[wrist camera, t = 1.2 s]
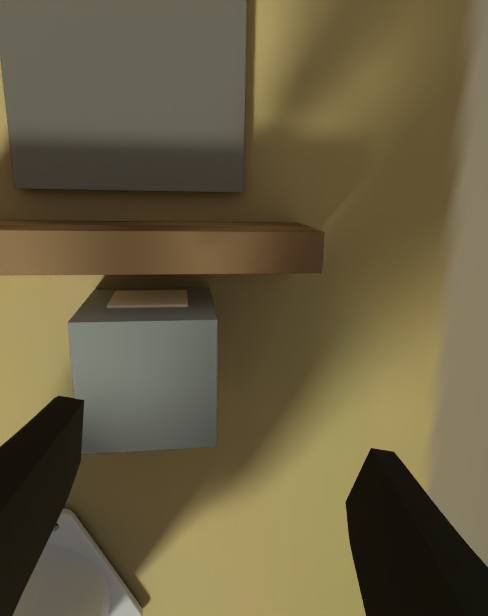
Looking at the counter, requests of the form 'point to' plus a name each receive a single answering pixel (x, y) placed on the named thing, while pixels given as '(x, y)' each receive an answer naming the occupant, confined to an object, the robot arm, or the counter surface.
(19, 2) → the mat
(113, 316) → the slate cube
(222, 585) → the counter surface
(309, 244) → the walnut screen
